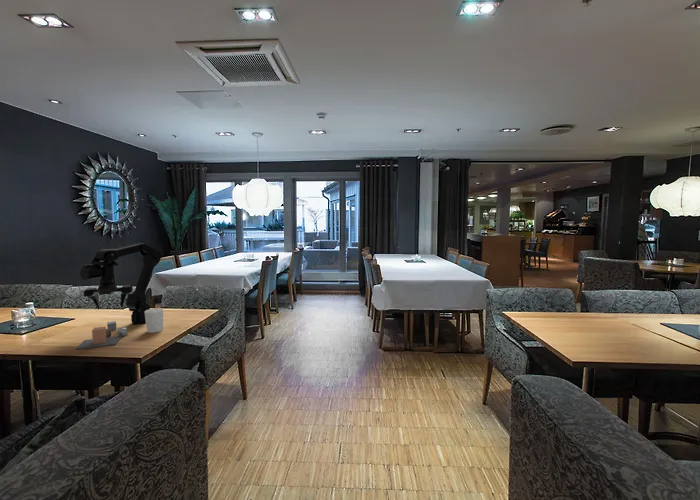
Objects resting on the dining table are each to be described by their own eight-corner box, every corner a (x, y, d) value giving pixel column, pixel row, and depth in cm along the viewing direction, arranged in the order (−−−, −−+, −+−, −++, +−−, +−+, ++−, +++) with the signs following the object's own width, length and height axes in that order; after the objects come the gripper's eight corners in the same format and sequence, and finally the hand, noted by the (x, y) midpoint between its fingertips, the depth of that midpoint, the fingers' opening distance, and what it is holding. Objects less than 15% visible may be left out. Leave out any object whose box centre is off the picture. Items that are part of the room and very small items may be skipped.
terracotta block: (106, 339, 155) (105, 326, 155) (103, 342, 152) (102, 329, 151) (95, 340, 154) (94, 327, 153) (92, 344, 150) (91, 330, 149)
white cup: (167, 329, 172) (166, 309, 171) (154, 334, 164) (153, 313, 163) (155, 327, 174) (154, 307, 173) (141, 332, 167) (140, 312, 166)
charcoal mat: (121, 337, 160) (121, 336, 160) (115, 345, 151) (115, 343, 151) (84, 341, 155) (84, 340, 155) (76, 349, 146) (76, 348, 145)
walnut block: (111, 336, 162) (111, 328, 161) (106, 338, 158) (105, 331, 158) (104, 336, 162) (103, 328, 162) (98, 338, 158) (98, 331, 158)
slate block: (116, 327, 174) (115, 320, 173) (116, 329, 171) (116, 322, 170) (107, 329, 172) (107, 322, 171) (107, 331, 169) (107, 324, 168)
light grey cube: (124, 334, 165) (123, 326, 164) (128, 334, 163) (128, 327, 163) (116, 336, 161) (115, 328, 161) (120, 337, 160) (120, 329, 160)
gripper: (77, 281, 154) (81, 315, 155) (127, 277, 161) (129, 310, 163) (85, 276, 164) (88, 308, 166) (131, 273, 171) (134, 304, 173)
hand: (110, 308), depth 166 cm, fingers open, 9 cm apart
